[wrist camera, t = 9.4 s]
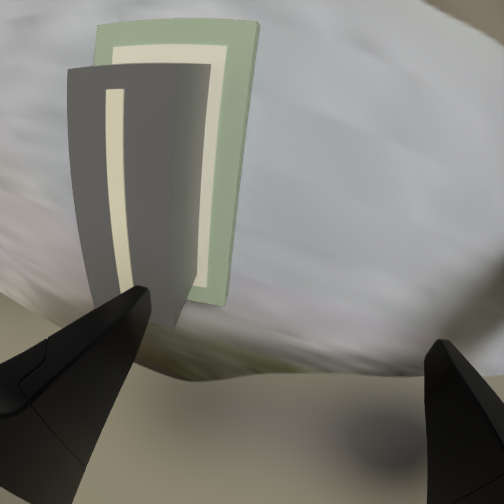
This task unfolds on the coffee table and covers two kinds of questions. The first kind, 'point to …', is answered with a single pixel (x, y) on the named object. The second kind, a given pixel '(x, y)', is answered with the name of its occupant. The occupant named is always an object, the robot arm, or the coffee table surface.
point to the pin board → (217, 119)
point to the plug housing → (138, 177)
